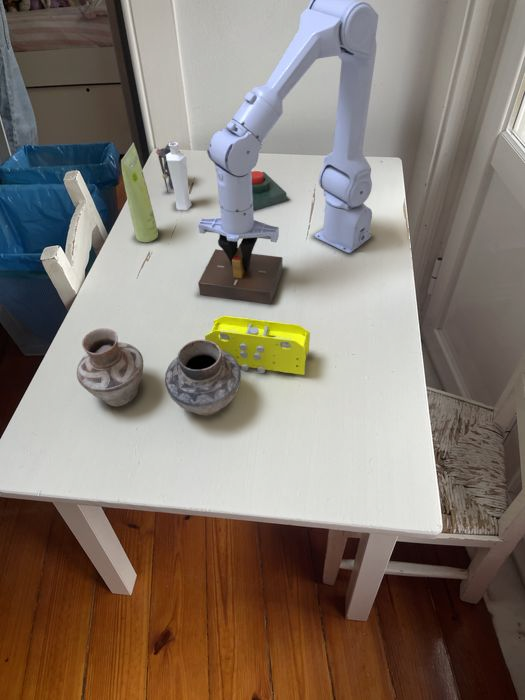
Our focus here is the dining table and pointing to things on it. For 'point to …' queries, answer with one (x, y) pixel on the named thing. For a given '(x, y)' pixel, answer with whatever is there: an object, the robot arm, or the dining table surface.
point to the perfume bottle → (179, 176)
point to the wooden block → (238, 264)
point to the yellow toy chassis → (262, 343)
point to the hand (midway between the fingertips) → (241, 267)
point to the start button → (257, 177)
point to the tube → (138, 197)
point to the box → (267, 193)
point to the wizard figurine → (165, 164)
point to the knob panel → (252, 285)
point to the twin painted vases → (181, 376)
